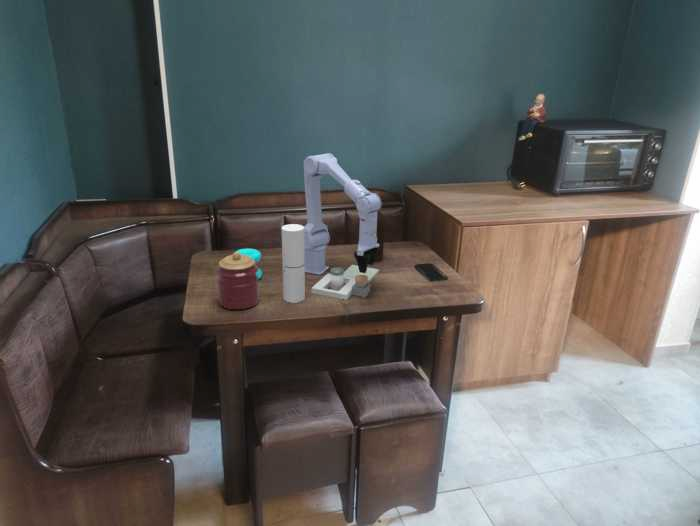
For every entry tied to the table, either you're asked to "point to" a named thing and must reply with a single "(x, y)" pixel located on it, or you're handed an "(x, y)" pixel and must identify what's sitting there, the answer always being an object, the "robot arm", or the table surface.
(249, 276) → the canister
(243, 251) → the cyan rounded piece
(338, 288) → the cylinder
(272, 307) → the table surface
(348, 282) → the housing
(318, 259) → the robot arm
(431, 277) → the phone
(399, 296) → the table surface
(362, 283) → the plunger
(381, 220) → the olive oil
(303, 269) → the cylindrical container
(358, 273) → the mat
